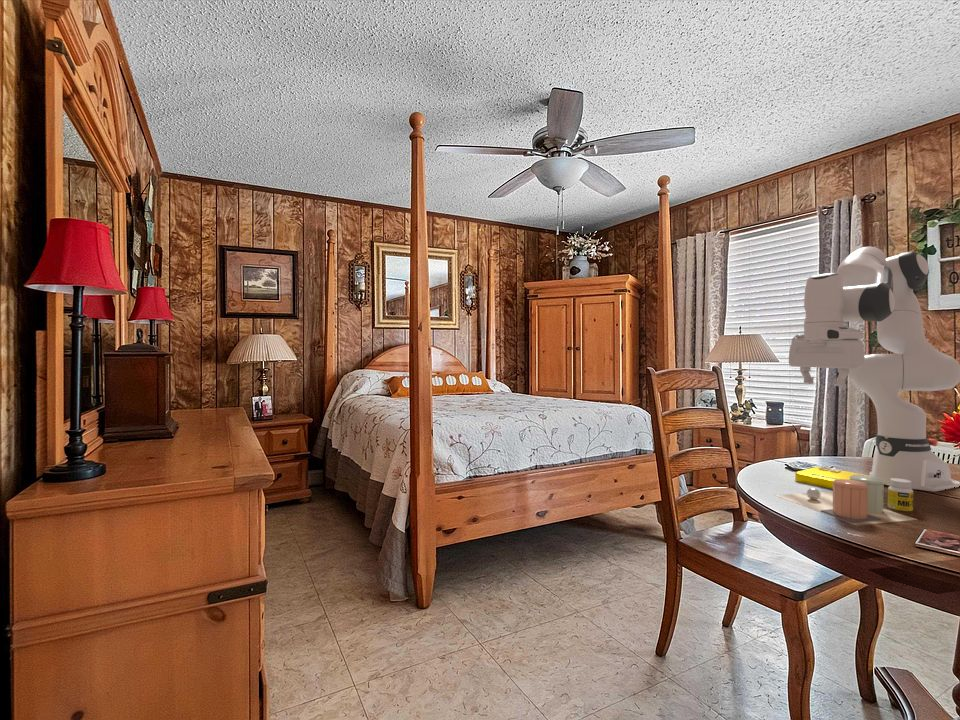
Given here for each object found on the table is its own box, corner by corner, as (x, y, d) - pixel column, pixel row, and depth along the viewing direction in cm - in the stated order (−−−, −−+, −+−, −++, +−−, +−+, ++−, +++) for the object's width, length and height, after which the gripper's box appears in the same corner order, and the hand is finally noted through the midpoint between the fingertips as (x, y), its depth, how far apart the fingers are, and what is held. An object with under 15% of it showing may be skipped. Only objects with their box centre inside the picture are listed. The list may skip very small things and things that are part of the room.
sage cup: (864, 504, 124) (864, 474, 124) (889, 512, 118) (890, 481, 117) (843, 506, 123) (843, 476, 122) (867, 514, 116) (868, 482, 116)
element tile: (792, 486, 147) (792, 470, 147) (817, 479, 154) (817, 464, 154) (850, 499, 134) (850, 482, 134) (875, 491, 142) (875, 474, 141)
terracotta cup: (848, 509, 119) (848, 478, 119) (874, 517, 113) (874, 485, 113) (826, 510, 118) (826, 480, 118) (851, 519, 112) (851, 487, 112)
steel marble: (813, 497, 130) (813, 486, 129) (823, 501, 127) (823, 489, 127) (803, 498, 129) (803, 487, 129) (813, 502, 126) (813, 490, 126)
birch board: (828, 496, 135) (828, 491, 135) (917, 526, 113) (917, 519, 113) (775, 500, 132) (775, 495, 132) (856, 531, 109) (856, 525, 109)
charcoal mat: (848, 509, 120) (848, 507, 120) (880, 520, 112) (880, 518, 112) (820, 511, 119) (820, 510, 119) (851, 522, 111) (851, 521, 111)
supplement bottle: (897, 517, 119) (898, 482, 118) (882, 510, 123) (882, 477, 123) (918, 517, 118) (918, 482, 118) (902, 510, 123) (902, 477, 123)
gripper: (782, 334, 142) (782, 382, 142) (848, 332, 122) (848, 387, 122) (801, 334, 143) (801, 382, 143) (869, 331, 123) (869, 387, 123)
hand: (823, 384), depth 132 cm, fingers open, 8 cm apart
